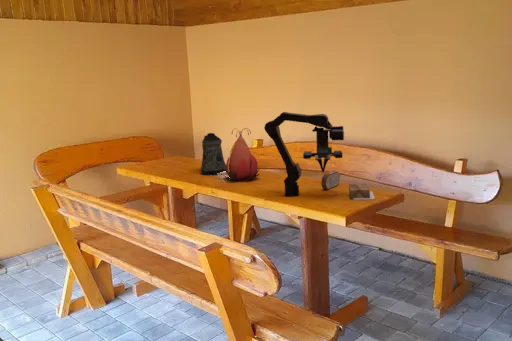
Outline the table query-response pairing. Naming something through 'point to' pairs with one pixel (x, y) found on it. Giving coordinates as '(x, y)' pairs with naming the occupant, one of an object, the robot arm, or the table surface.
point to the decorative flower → (241, 162)
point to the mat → (366, 198)
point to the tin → (330, 180)
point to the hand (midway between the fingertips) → (323, 171)
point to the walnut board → (359, 191)
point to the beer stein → (212, 155)
